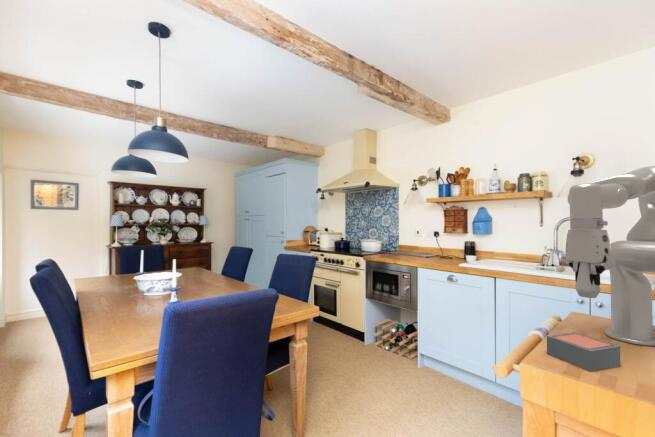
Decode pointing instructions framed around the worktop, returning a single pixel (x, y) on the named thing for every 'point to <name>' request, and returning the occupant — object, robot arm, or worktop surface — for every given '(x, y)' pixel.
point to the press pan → (583, 341)
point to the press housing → (584, 353)
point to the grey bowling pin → (586, 282)
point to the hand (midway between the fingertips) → (587, 285)
